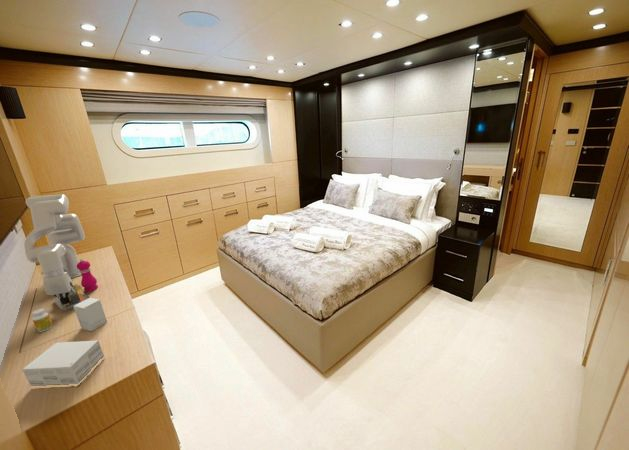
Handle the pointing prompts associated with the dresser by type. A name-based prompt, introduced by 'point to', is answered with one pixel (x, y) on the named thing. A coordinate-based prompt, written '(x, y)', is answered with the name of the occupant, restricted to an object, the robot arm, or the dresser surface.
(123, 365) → the dresser surface
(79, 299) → the flange base
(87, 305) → the supplement box
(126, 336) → the dresser surface
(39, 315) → the supplement bottle
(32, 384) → the supplement box
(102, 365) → the dresser surface
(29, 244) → the robot arm
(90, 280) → the pepper mill
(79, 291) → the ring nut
